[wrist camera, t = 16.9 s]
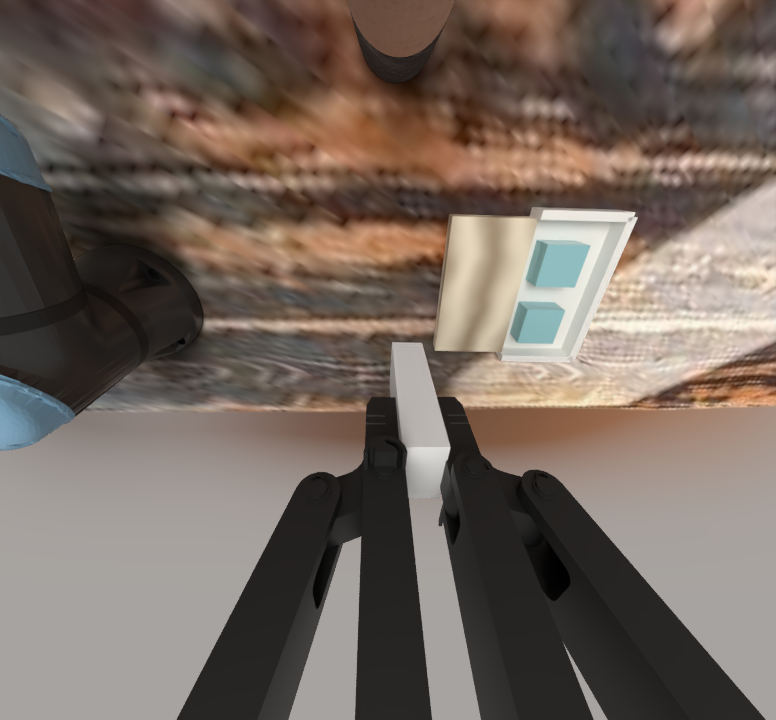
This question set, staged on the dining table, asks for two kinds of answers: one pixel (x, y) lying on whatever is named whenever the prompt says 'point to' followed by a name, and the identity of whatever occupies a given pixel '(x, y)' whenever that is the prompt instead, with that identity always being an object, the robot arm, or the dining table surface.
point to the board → (481, 280)
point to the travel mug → (398, 34)
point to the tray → (581, 302)
